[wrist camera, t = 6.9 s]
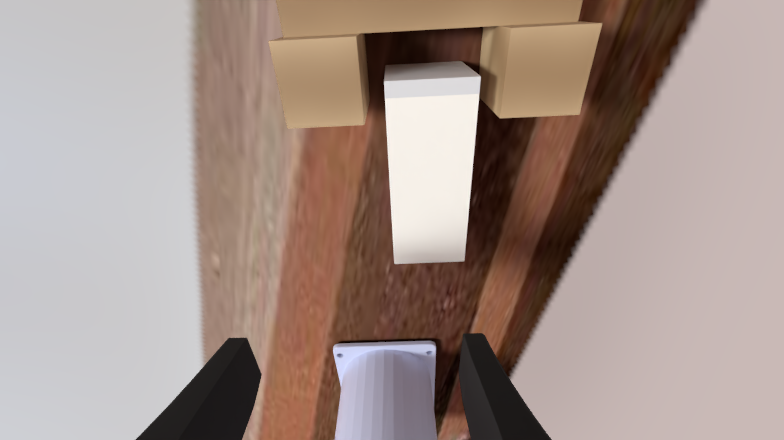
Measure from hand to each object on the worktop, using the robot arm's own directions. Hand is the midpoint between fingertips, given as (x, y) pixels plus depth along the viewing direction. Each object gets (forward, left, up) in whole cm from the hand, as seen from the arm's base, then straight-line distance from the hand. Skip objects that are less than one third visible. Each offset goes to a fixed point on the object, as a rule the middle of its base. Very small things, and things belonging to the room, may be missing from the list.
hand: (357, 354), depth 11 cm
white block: (+3, -3, -10) cm, 11 cm away
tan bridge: (+8, -3, -10) cm, 13 cm away
